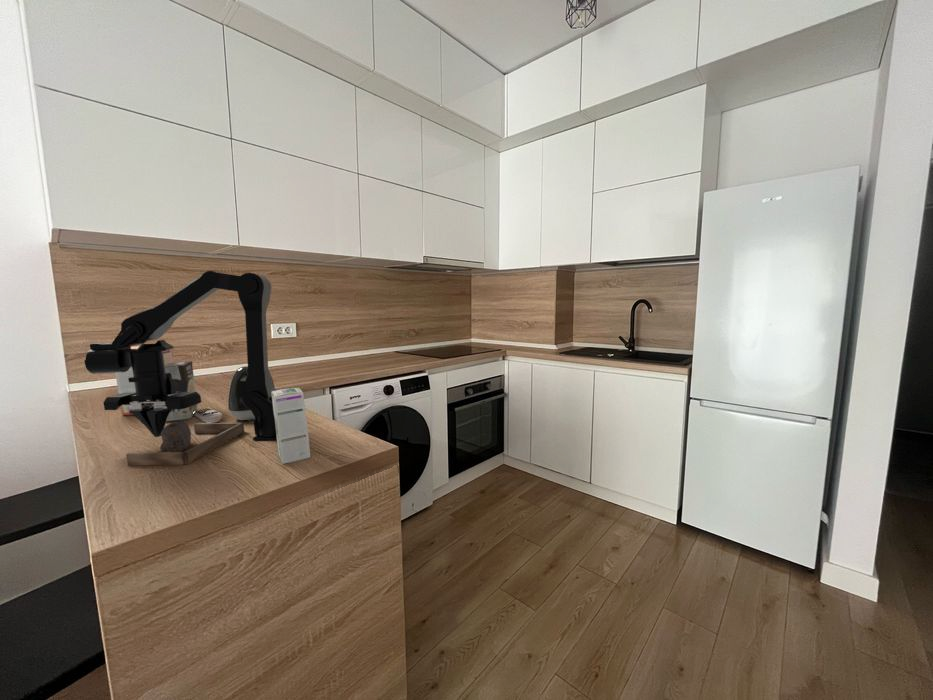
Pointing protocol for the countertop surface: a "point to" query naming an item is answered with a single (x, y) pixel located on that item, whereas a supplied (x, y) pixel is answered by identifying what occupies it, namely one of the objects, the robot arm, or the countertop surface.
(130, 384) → the cracker box
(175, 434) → the perforated stone tool
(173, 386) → the robot arm
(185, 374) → the coffee box
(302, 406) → the syrup box
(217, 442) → the walnut frame
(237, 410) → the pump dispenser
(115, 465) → the countertop surface
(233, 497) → the countertop surface
